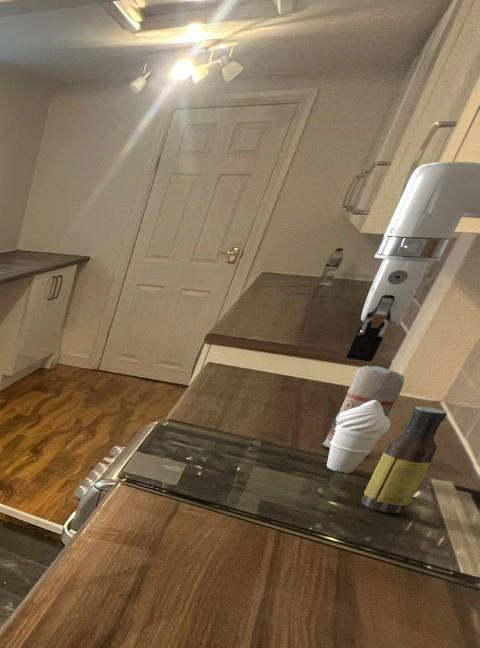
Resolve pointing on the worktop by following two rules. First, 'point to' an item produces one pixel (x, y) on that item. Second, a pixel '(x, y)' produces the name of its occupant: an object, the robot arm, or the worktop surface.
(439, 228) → the robot arm
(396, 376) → the spray can
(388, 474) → the sauce bottle
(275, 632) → the worktop surface
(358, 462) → the ice cream cone
